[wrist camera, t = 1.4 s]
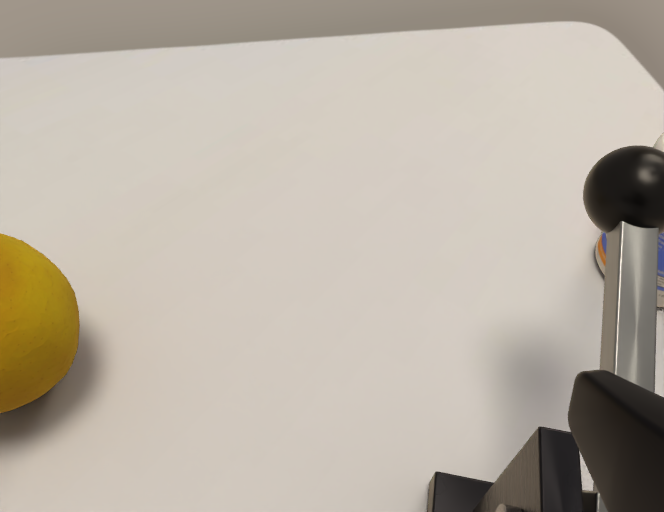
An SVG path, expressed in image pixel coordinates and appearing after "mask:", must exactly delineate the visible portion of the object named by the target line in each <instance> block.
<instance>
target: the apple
mask: <svg viewBox="0 0 664 512" xmlns="http://www.w3.org/2000/svg"><path fill="white" fill-rule="evenodd" d="M78 338H79V311H78V305H77V301H76V297H75V293H74V291H73V289H72V287H71V285H70V283H69V282H68V280H67V278H66V277H65V276H64V275H63V274H62V272H61V271H60V270H59V269H58V268H57V266H56V265H55V264H53V263H52V262H51V261H50V260H49V259H48V258H47V257H45V256H44V255H43V254H42V253H40V252H39V251H37V250H36V249H34V248H33V247H31V246H30V245H28V244H27V243H25V242H23V241H22V240H18V239H16V238H14V237H10V236H7V235H4V234H0V413H3V412H7V411H11V410H14V409H16V408H18V407H21V406H23V405H25V404H27V403H29V402H32V401H33V400H35V399H37V398H39V397H40V396H42V395H43V394H45V393H46V392H48V391H49V390H50V389H51V388H52V387H53V386H55V385H56V384H57V383H58V382H59V381H60V380H61V379H62V378H63V377H64V376H65V375H66V374H67V372H68V370H69V369H70V367H71V365H72V363H73V360H74V357H75V354H76V352H77V348H78Z"/></svg>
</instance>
